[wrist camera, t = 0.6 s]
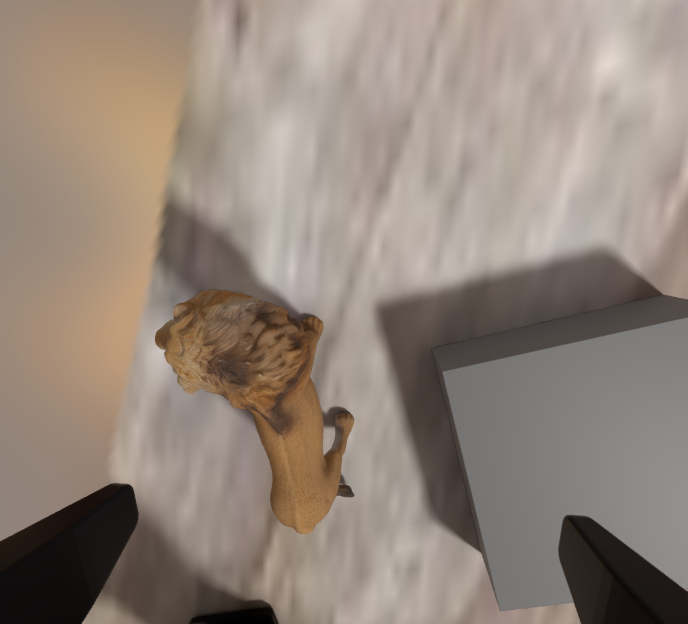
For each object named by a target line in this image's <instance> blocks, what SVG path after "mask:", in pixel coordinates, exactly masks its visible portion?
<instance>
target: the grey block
mask: <svg viewBox="0 0 688 624" xmlns="http://www.w3.org/2000/svg"><path fill="white" fill-rule="evenodd" d="M432 352H433V356H434V361H435V365H436V369H437V373H438V377H439V381H440V385H441V389H442V393H443V397H444V402H445V406H446V410H447V414H448V418H449V422H450V426H451V430H452V434H453V438H454V443H455V447H456V451H457V455H458V459H459V463H460V467H461V471H462V475H463V479H464V484H465V488H466V492H467V496H468V500H469V504H470V508H471V512H472V516H473V520H474V525H475V529H476V533H477V537H478V541H479V545H480V549H481V553H482V556H483V559H484V563H485V566H486V569H487V572H488V575H489V578H490V581H491V584H492V587H493V591H494V594H495V597H496V600H497V603H498V606H499V609H500V611H507V610H515V609H523V608H531V607H540V606H548V605H556V604H565V603H573V602H574V601H573V599H572V596H571V593H570V590H569V587H568V584H567V581H566V578H565V575H564V572H563V569H562V566H561V563H560V560H559V555H558V545H559V539H560V533H561V527H562V521H563V518H564V517H565V516H566V515H581V516H588V517H590V518H592V519H593V520H595V521H596V522H597V523H599V524H600V525H601V526H602V527H604V528H605V529H606V530H608V531H609V532H610V533H612V534H613V535H614V536H616V537H617V538H618V539H620V540H621V541H622V542H623V543H625V544H626V545H627V546H629V547H630V548H631V549H633V550H634V551H635V552H637V553H638V554H639V555H640V556H642V557H643V558H644V559H646V560H647V561H648V562H650V563H651V564H652V565H654V566H655V567H656V568H658V569H659V570H660V571H661V572H663V573H664V574H665V575H667V576H668V577H669V578H671V579H672V580H673V581H675V582H676V583H677V584H678V585H680V586H681V587H682V588H684V589H688V300H687V299H682V298H677V297H672V296H668V295H659V296H655V297H651V298H646V299H642V300H638V301H633V302H629V303H625V304H620V305H616V306H612V307H607V308H603V309H599V310H595V311H590V312H586V313H582V314H577V315H573V316H569V317H564V318H560V319H556V320H551V321H547V322H543V323H538V324H534V325H530V326H525V327H521V328H517V329H513V330H508V331H504V332H500V333H495V334H491V335H487V336H482V337H478V338H474V339H469V340H465V341H461V342H456V343H452V344H448V345H444V346H439V347H435V348H432Z"/></svg>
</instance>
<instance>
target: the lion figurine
mask: <svg viewBox="0 0 688 624" xmlns="http://www.w3.org/2000/svg"><path fill="white" fill-rule="evenodd" d="M173 313H174V319H173V320H170V321H169V322H167V323H166V324H165V325H164V326H163V327H162V328H161V329H159V330H158V331H157V332H156V335H155V342H156V345H157V346H158V347H159V348H160V349H163V350H166V351H165V353H164V355H165V358H166V361H167V362H168V363H169V364H170V365H172V367H173V371H174V372H175V373H176V374H177V375H178V377H177V382H178V384H179V385H180V386H181V387H183V390H184V391H185V392H186V393H187V394H193V393H195V392H196V391H198V390H200V389H203V390H205V391H207V392H211V393H215V394H221V395H223V396H224V397H225V398H226V399H228V400H229V401H230V403H231V405H232V406H233V407H235V408H238V409H248V410H250V411H251V412H252V413H253V416H254V421H255V425H256V428H257V431H258V434H259V436H260V439H261V442H262V445H263V447H264V449H265V451H266V453H267V456H268V458H269V461H270V465H271V469H272V475H273V483H272V489H271V495H270V502H271V507H272V510H273V512H274V514H275V515H276V517H277V518H278V520H279V521H280V522H281V523H282V524H283V525H285V526H287V527H292V528H294V529H295V531H296V532H298V533H300V534H308V533H310V532H311V531H312V530H313V529H314V527H315V526H316V524H317V523H319V522H320V521H321V520H322V519H323V518H324V517H325V516H326V515H327V513H328V512H329V510H330V508H331V506H332V504H333V501H334V499H335V497H336V496H338V495H339V496H343V497H354V494H353V492H352V490H351V488H350V486H348V485H345V484H343V485H339V483H340V475H341V463H342V456H343V454H344V452H345V448H346V443H347V439H348V436H349V434H350V432H351V429H352V427H353V424H354V418H353V416H352V415H351V414H350V413H348V412H343V413H339V414H337V415H336V417H335V440H334V443H333V445H332V448H331V449H330V450H329V451H328V452H327V453H326V454H325V455H323V447H322V446H323V417H322V411H321V406H320V402H319V398H318V395H317V392H316V389H315V386H314V384H313V382H312V380H311V378H310V374H311V371H312V366H313V361H314V355H315V350H316V346H317V343H318V340H319V338H320V336H321V334H322V331H323V323H322V321H321V320H319V319H318V318H316V317H309V318H307V319H304V320H303V323H301V322H300V321H298V320H297V319H294V318H290V317H289V315H288V311H287V310H286V309H285V308H283V307H279V306H276V305H273V304H271V303H269V302H263V301H262V300H260V299H258V298H254V297H252V296H247V295H245V294H243V293H236V292H230V291H224V290H209V291H202V292H201V293H198V294H197V295H196V296H195V297H193V298H192V299H191V300H188V301H186V302H184V303H179V304H177V305H176V306H175V307H174V309H173ZM302 324H303V325H302Z"/></svg>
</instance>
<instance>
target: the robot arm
mask: <svg viewBox="0 0 688 624" xmlns="http://www.w3.org/2000/svg"><path fill="white" fill-rule="evenodd" d="M138 515H139V514H138V508H137V504H136V499H135V494H134V490H133V487H132V486H131V485H129V484H119V483H113V484H110V485H107V486H106V487H104V488H102V489H100V490H98V491H96V492H94V493H92V494H90V495H88V496H87V497H84V498H83V499H81V500H79V501H77V502H75V503H73V504H71V505H69V506H67V507H65V508H63V509H61V510H60V511H58V512H56V513H54V514H52V515H50V516H48V517H46V518H44V519H42V520H40V521H38V522H36V523H35V524H33V525H31V526H29V527H27V528H25V529H23V530H21V531H19V532H17V533H15V534H14V535H12V536H10V537H8V538H6V539H4V540H2V541H0V624H82V622H83V621H84V619H85V618H86V616H87V614H88V613H89V611H90V609H91V608H92V606H93V605H94V603H95V601H96V599H97V597H98V596H99V594H100V592H101V590H102V589H103V587H104V585H105V583H106V581H107V579H108V577H109V576H110V574H111V572H112V570H113V568H114V566H115V564H116V563H117V561H118V559H119V557H120V555H121V553H122V552H123V550H124V548H125V546H126V544H127V542H128V540H129V539H130V537H131V535H132V533H133V531H134V529H135V527H136V525H137V522H138ZM558 555H559V560H560V563H561V566H562V569H563V572H564V575H565V578H566V581H567V584H568V587H569V590H570V593H571V596H572V599H573V601H574V604H575V607H576V610H577V613H578V616H579V619H580V622H581V624H688V591H686V590H685V589H684V588H682V587H681V586H680V585H678V584H677V583H676V582H675V581H673V580H672V579H671V578H669V577H668V576H667V575H665V574H664V573H663V572H661V571H660V570H659V569H658V568H656V567H655V566H654V565H652V564H651V563H650V562H648V561H647V560H646V559H644V558H643V557H642V556H640V555H639V554H638V553H637V552H635V551H634V550H633V549H631V548H630V547H629V546H627V545H626V544H625V543H623V542H622V541H621V540H620V539H618V538H617V537H616V536H614V535H613V534H612V533H610V532H609V531H608V530H606V529H605V528H604V527H602V526H601V525H600V524H599V523H597V522H596V521H595V520H593V519H592V518H590V517H588V516H581V515H566V516H565V517H564V518H563V521H562V527H561V533H560V539H559V545H558ZM189 624H278V621H277V619H276V616H275V613H274V612H273V610H271V609H269V608H263V609H256V610H248V611H240V612H233V613H225V614H217V615H210V616H202V617H195V618H192V619H191V621H190V623H189Z"/></svg>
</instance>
